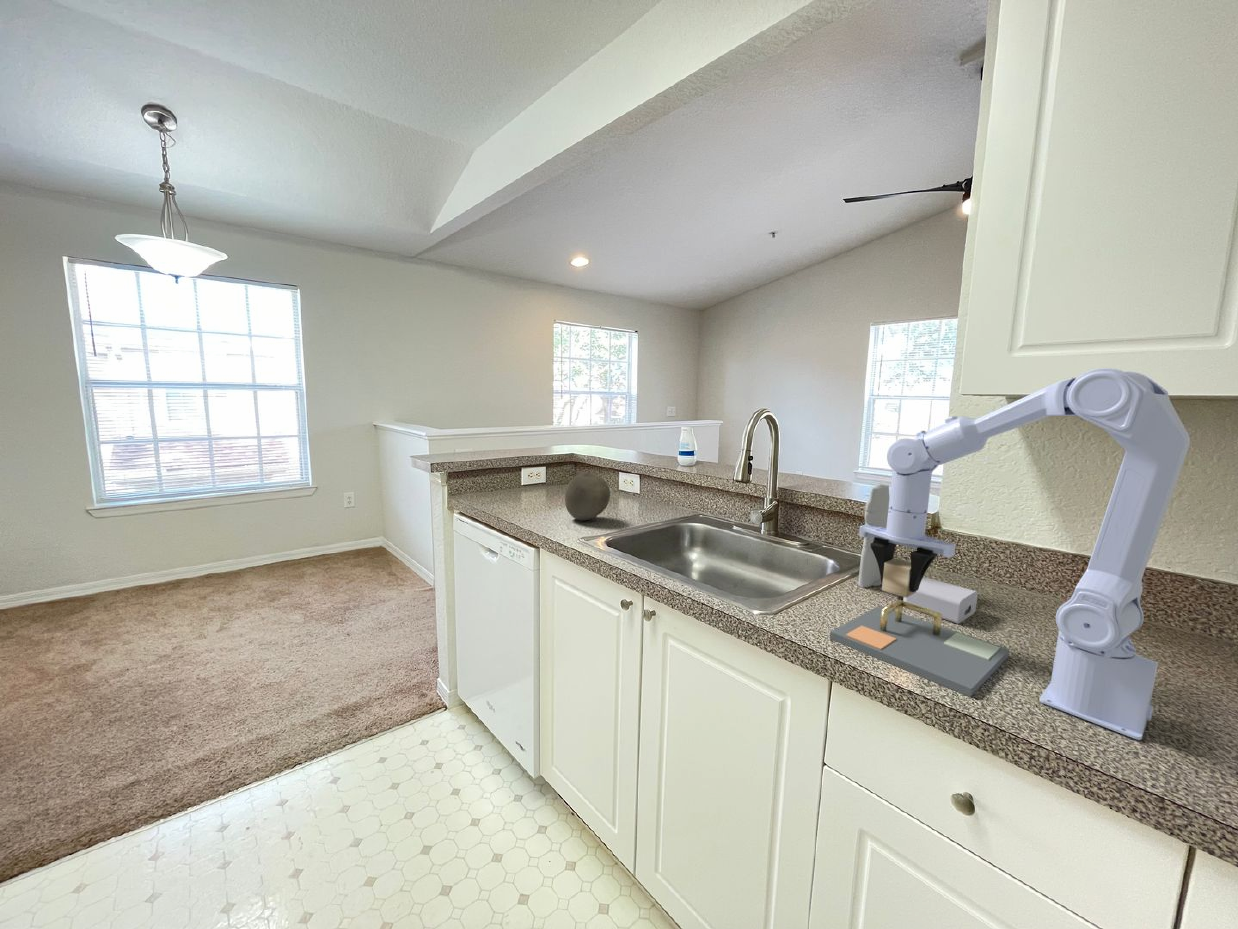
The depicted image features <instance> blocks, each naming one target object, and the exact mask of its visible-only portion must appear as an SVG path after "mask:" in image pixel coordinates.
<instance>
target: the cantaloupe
mask: <svg viewBox="0 0 1238 929" xmlns="http://www.w3.org/2000/svg"><path fill="white" fill-rule="evenodd" d="M610 497H611V491H610V488H609V485H608V482H606V481H605V479H604V478H602V477H601V476H600V475H598V474H595V473H592V472H584V473H579V474H577V475H575V476H574V477H573V478H572V479H570V481H569V482H568V484H567V486H566V488H565V491H564V503H565V509H566V511H567V512H568V513H569V515H570V516H571V517H572V518H573V519H576V520H578V521H584V522H585V521H589V520H592V519H595V518H597V517H598V516H599V515H601V514H602V513H603V512H604V511H605V510H606V508H607V506H608V505H609V502H610V499H611V498H610Z"/></svg>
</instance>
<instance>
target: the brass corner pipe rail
mask: <svg viewBox="0 0 1238 929" xmlns="http://www.w3.org/2000/svg"><path fill="white" fill-rule="evenodd" d="M904 608H905V609H908V610H912V611H915V612H918V613H920V614H923V615H927V616H930V617H932V618H934V621H933V624H934V627H933V634H934V635H937V636H939V635H940V629H941V626H942V620H943V619H942V614H941V613H939V612H936V611H933V610H930V609H927V608H923V607H920V606H917V605H914V604H911V603H908V602H905V601H903V600H901V599H899V600H896V601H895V602H893V603H891V604H889V605H888V606H886V607H885V608H884V609H882V612H881V621H880V630H881V631H884V632H885V631H886V629H887V620H888V613H890V612H892V611H896V615H895V621H897V622H901V621H902V613H903V610H904Z"/></svg>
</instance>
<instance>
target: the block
mask: <svg viewBox="0 0 1238 929" xmlns="http://www.w3.org/2000/svg"><path fill="white" fill-rule="evenodd" d="M910 577H911V561H906V560H902V559H899V558H896V557H893V559H892V560H889V561H887V562H885V563H884V573H883V582H882V583H881V590H882V591H884V592H886V593H890V594H893V595H895V596H899V597H902V598H904V597H905V598H907V597H909V596H910V595H912V594H914V593H916V591H915V592H911V591H909V583H910Z"/></svg>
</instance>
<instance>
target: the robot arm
mask: <svg viewBox="0 0 1238 929" xmlns="http://www.w3.org/2000/svg"><path fill="white" fill-rule="evenodd" d="M1055 416H1056V417H1057V416H1058V417H1060V416H1061V417H1064V416H1065V417H1066V416H1069V417H1072V416H1073V417H1074V416H1075V417H1076V416H1077V417H1079V418H1081V419H1083V420H1085V421H1087V422H1089V423H1090V424H1093V425H1095V426H1097V427H1099V428H1102V429H1103V430H1105V431H1106V433H1107V434H1109V436H1111V438H1112V439H1114V441H1116V442H1117V443H1118V445H1120V446H1121V447H1122V448H1123V450H1124V451H1125V452H1124V456H1123V458H1122V461H1121V465H1120V467H1119V471H1118V474H1117V475H1116V479H1115V483H1114V486H1113V489H1112V492H1111V495H1110V499H1109V502H1108V504H1107V508H1106V510H1105V513H1104V516H1103V519H1102V522H1101V525H1100V529H1099V531H1098V535H1097V538H1096V541H1095V543H1094V546H1093V550H1092V553H1091V556H1090V558H1089V561H1088V565H1087V568H1086V570H1085V572H1084V573H1083V575H1082V576H1081V578H1080V579H1079V581H1078V583H1077V584H1076V586H1075V588H1074V590H1073V594H1072V596H1071V597H1070V598H1069V599H1068V600H1067V601H1066V602H1064V603H1063V604H1061V605H1060V606H1059V608H1058V609H1057V611H1056V614H1055V623H1056V626H1057V628H1058V634H1057V642H1056V648H1055V651H1054V652H1055V654H1054V660H1053V665H1052V673H1051V679H1050V682H1049V684H1048V685H1047V686H1046V688H1045V690H1044V691H1043V692H1042V693H1041V695H1040V697H1039V702H1040V703H1042V704H1044V705H1046V706H1049V707H1052V708H1054V709H1056V710H1060V711H1062V712H1064V713H1068V714H1070V715H1073V716H1075V717H1078V718H1079V719H1083V720H1085V721H1088V722H1091V723H1093V724H1096V725H1097V726H1100V727H1103V728H1106V729H1109V730H1111V731H1114V732H1116V733H1118V734H1119V733H1120V735H1121V734H1122V735H1124V736H1127V737H1129V738H1132V739H1135V740H1137V741H1140V740H1141V741H1142V740H1143V735H1144V732H1145V728H1146V725H1147V722H1148V721H1149V722H1150V721H1152V717H1153V712H1154V706H1152V705H1151V704H1152V702H1151V701H1152V696H1153V692H1154V687H1155V681H1156V675H1157V671H1158V665H1159V664H1158V662H1157V661H1155V660H1152V659H1149V658H1146V657H1145V656H1142V655H1140V654H1138V653H1136V651H1137V648H1136V647H1135V646H1134V643H1133V641H1132V639H1131V638H1130V636H1129V635H1131V634H1133V633H1135V632H1136V631H1138V630H1140V628H1141V627H1142V625H1143V623H1144V617H1145V616H1144V612H1143V609H1142V607H1141V606H1142V605H1141V596H1142V593H1143V590H1144V587H1143V582H1142V579H1143V576H1144V573H1145V570H1146V568H1147V565H1148V563H1149V561H1150V556H1151V555H1152V551H1153V549H1154V546H1155V544H1156V543H1155V542H1156V541H1157V537H1158V535H1159V531H1160V529H1161V527H1162V524H1163V520H1164V518H1165V516H1166V512H1167V509H1168V507H1169V504H1170V501H1171V498H1172V496H1173V493H1174V490H1175V487H1176V484H1177V482H1178V479H1179V476H1180V473H1181V472H1182V467H1183V464H1184V462H1185V459H1186V456H1187V454H1188V451H1189V448H1190V444H1191V443H1190V442H1191V438H1190V436H1189V433H1188V431H1187V430H1186V428H1185V425H1184V424H1183V422H1182V420H1181V419H1180V417H1179V414H1178V412H1177V411H1176V409H1175V407H1174V405H1173V404H1172V402H1171V399H1170V396H1169V392H1168V391H1167V390H1166V389H1165V388H1164V387H1162V386H1161V385H1159V384H1158V383H1156V382H1155V381H1154V380H1153V379H1152V378H1150V377H1148V376H1146V375H1144V374H1142V373H1138V372H1134V371H1123V370H1120V369H1116V368H1111V367H1105V368H1104V367H1103V368H1096V369H1092V370H1089V371H1086V372H1084V373H1082V374H1081V375H1079V376H1078V377H1070V378H1066V379H1063V380H1060V381H1057V382H1055V383H1052V384H1051V385H1047V386H1045V387H1043V388H1041V389H1038V390H1037V391H1034V392H1033V393H1030V394H1028V395H1026V396H1024V397H1022V398H1020V399H1018V400H1016V401H1013V402H1011V403H1009V404H1006V405H1005V406H1002V407H1001V408H998V409H996V410H994V411H992V412H989V413H987V414H985V415H982V416H980V417H978V418H972V417H969V416H966V415H964V416H963V415H962V416H960V417H958V416H954V415H952V416H949V417H948V418H945V419H944V422H945V423H944V424H941V425H938V426H936V427H934V428H932V429H930V430H927V431H926V430H920V431H918V432H916V433H915V435H916V437H915V438H913V439H912V438H907V437H905V438H899V439H898V440H897V441H896V442H894V443H892V444H891V446H890V447H889V448H888V451H887V454H886V461H887V464H888V466H889V467H890V468H891V470H892V471H891V481H890V488H889V497H890V498H889V509H888V518H887V528H882V527H875V526H869V525H865V524H863V525H862V524H861V525H859V532H858V533H859V534H858V537H860V538H863V539H864V538H865V537H868V538H873V539H874V541H873V543H871V544H870V546H871V549H872V551H873V553H874V555H875V558H876V560H877V563H878V567H879V571H880V577H881V584H882V582H883V573H884V563H885V562H887V561H889V560H892V559H894V556H895V553H896V552H895V551H896V548H897V545H899V546H903V547H907V548H911V549H916V550H914V551H912V552H910V562H911V577H910V583H909V591H911V592H915V591H917V590H918V589H919V586H920V583H921V580H922V578H924V576H925V574H926V572H927V570H928V568H929V567H930V565H931V564H932V563H933V562H934V560H935V559H936V558H937V557H938V555H942V556H943V557H944V558H952V557H954V556H955V552H956V544H955V543H951V542H947V541H943V540H940V539H938V538H934V537H930V536H928V535H926V529H927V528H926V527H927V521H928V520H927V519H928V518H927V517H928V512H929V510H928V509H929V502H930V493H931V484H932V483H931V482H932V474H933V472H934V470H936V469H937V468H938V467H939V466H942V465H944V464H947V463H950V462H951V461H954V460H958V459H961V458H963V457H966V456H968V455H971V454H973V453H977V452H979V451H982V450H983V449H984V447H985V445H986V443H987V441H988V439H989V438H992V437H995V436H997V435H1000V434H1004V433H1007V432H1009V431H1012V430H1015V429H1017V428H1021V427H1023V426H1026V425H1029V424H1032V423H1035V422H1037V421H1041V420H1043V419H1047V418H1049V417H1055Z"/></svg>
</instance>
